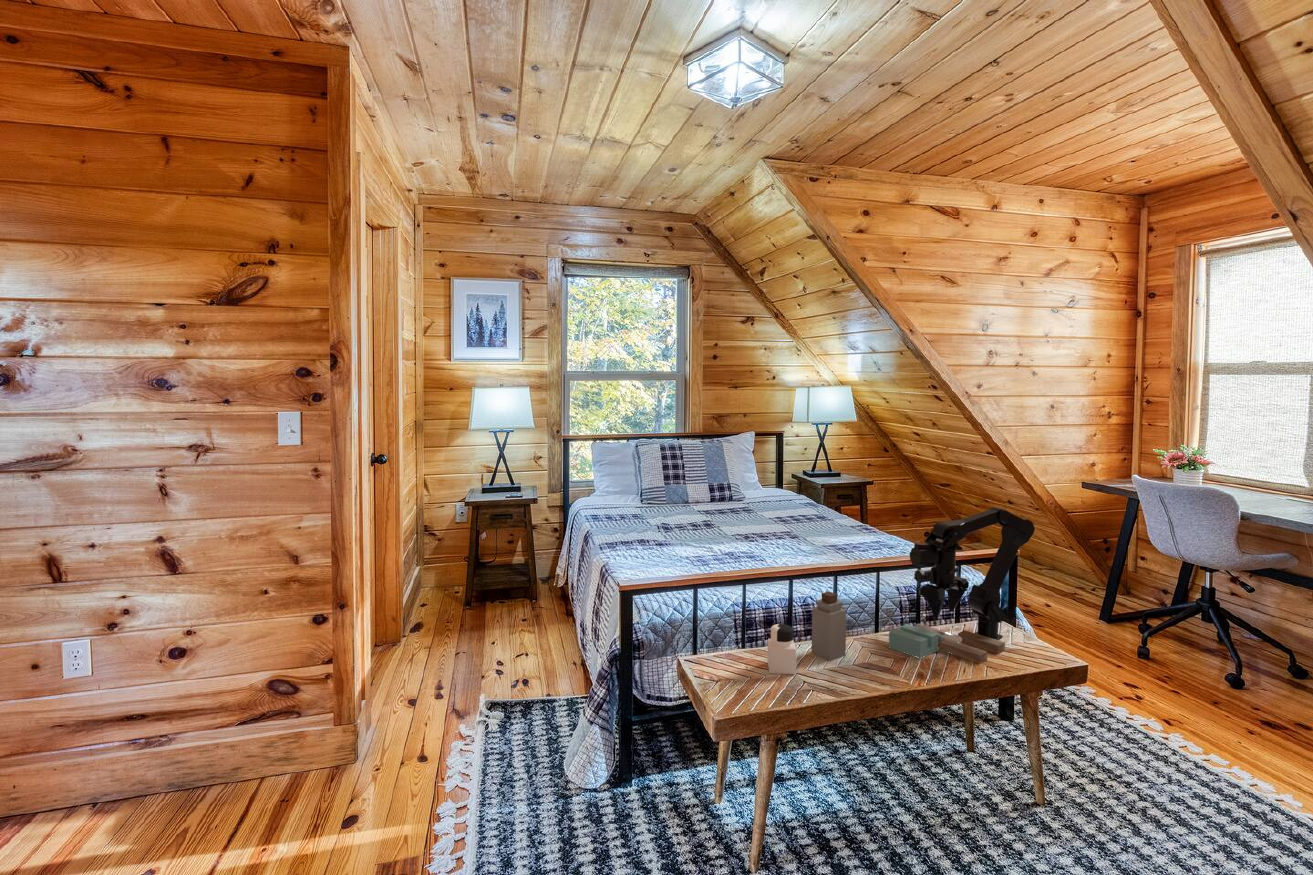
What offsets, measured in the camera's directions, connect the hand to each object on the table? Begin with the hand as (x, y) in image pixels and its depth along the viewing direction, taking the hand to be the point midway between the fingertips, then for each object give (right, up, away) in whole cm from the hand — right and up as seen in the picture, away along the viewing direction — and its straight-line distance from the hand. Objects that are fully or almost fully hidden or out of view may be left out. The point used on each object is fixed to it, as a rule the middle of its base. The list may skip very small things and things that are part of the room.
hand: (943, 614), depth 193 cm
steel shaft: (0, -8, +1) cm, 8 cm away
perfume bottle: (-38, -9, -9) cm, 40 cm away
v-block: (-12, -9, -6) cm, 16 cm away
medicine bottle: (-53, -10, -19) cm, 57 cm away
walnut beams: (+5, -9, -7) cm, 12 cm away
